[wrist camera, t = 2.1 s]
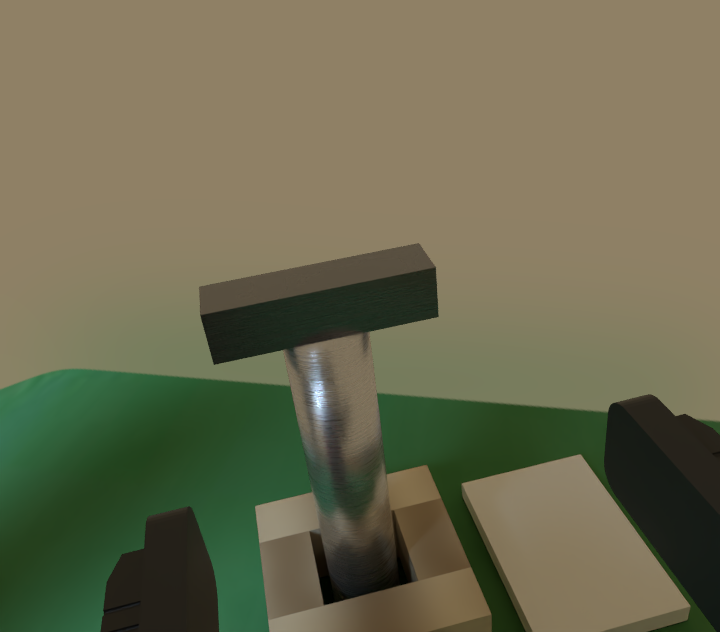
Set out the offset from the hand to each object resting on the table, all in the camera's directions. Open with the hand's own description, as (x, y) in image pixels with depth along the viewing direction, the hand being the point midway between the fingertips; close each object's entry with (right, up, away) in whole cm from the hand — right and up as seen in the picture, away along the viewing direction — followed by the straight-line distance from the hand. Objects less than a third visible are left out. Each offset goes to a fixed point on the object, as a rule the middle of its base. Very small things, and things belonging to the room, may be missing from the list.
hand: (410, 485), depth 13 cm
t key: (0, -11, +20) cm, 23 cm away
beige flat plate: (+9, -9, +21) cm, 25 cm away
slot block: (0, -11, +20) cm, 23 cm away
